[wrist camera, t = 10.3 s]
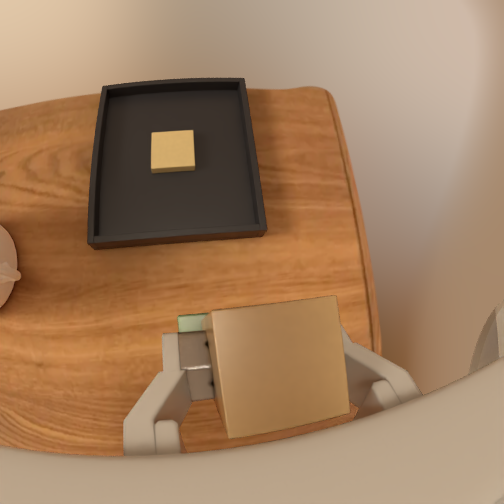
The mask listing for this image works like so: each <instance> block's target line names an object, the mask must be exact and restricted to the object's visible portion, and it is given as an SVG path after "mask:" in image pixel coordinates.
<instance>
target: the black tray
mask: <svg viewBox="0 0 504 504" xmlns="http://www.w3.org/2000/svg"><path fill="white" fill-rule="evenodd" d="M184 130H193V134H194V153H195V170H194V171H180V172H165V173H152V171H151V140H152V133H154V132H168V131H184ZM266 231H267V225H266V218H265V211H264V204H263V197H262V190H261V183H260V176H259V169H258V163H257V156H256V149H255V143H254V136H253V130H252V123H251V117H250V110H249V104H248V97H247V91H246V85H245V79H244V78H188V79H168V80H154V81H142V82H132V83H123V84H116V85H108V86H103V87H102V92H101V97H100V103H99V109H98V116H97V122H96V129H95V137H94V145H93V154H92V164H91V175H90V188H89V206H88V237H87V243H88V244H89V245H90V246H91V247H92V248H93V249H94V250H96V249H108V248H120V247H132V246H144V245H156V244H169V243H182V242H195V241H208V240H222V239H236V238H250V237H262V236H263V235H264V233H265V232H266Z"/></svg>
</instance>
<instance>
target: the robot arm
mask: <svg viewBox="0 0 504 504" xmlns="http://www.w3.org/2000/svg"><path fill="white" fill-rule="evenodd" d="M341 331H342V338H343V346H344V354H345V363H346V372H347V382H348V392H349V401H350V402H351V403H353V404H354V405H355V406H357V407H358V408H359V410H358V412H357V414H356V416H355V417H354V419H353V421H350V422H347V423H343V424H340V425H337V426H333V427H329V428H326V429H322V430H318V431H314V432H310V433H306V434H302V435H298V436H293V437H289V438H284V439H279V440H275V441H269V442H264V443H259V444H253V445H247V446H241V447H234V448H227V449H220V450H212V451H203V452H193V453H187V452H186V449H185V446H184V443H183V440H182V436H181V433H180V430H179V427H180V425H181V423H182V421H183V419H184V417H185V415H186V413H187V412H188V410H189V408H190V406H191V404H192V402H193V401H201V400H208V399H215V393H214V384H213V368H212V361H211V356H210V350H209V348H208V339H207V333H206V330H203V331H189V332H178V333H163V335H162V352H163V372H159V373H158V374H157V375H156V377H155V378H154V379H153V381H152V382H151V384H150V385H149V386H148V388H147V389H146V390H145V392H144V393H143V395H142V396H141V397H140V399H139V400H138V402H137V403H136V404H135V406H134V407H133V409H132V410H131V411H130V413H129V414H128V415H127V417H126V418H125V420H124V456H99V455H78V454H65V453H54V452H45V451H37V450H29V449H22V448H16V447H10V446H5V445H0V504H504V356H502V357H501V358H499V359H497V360H495V361H494V362H492V363H490V364H488V365H486V366H484V367H482V368H481V369H479V370H477V371H475V372H473V373H471V374H469V375H467V376H465V377H463V378H461V379H459V380H457V381H454V382H452V383H450V384H448V385H446V386H444V387H441V388H439V389H437V390H435V391H432V392H430V393H428V394H425V395H423V394H422V393H421V391H420V390H419V388H418V387H417V385H416V384H415V382H414V380H413V379H412V377H411V376H410V374H409V373H408V371H407V370H405V369H403V368H401V367H399V366H397V365H396V364H394V363H392V362H390V361H388V360H387V359H385V358H383V357H381V356H379V355H378V354H376V353H374V352H372V351H370V350H369V349H367V348H365V347H363V346H361V345H360V344H358V343H352V341H351V339H350V338H349V336H348V335H347V333H346V331H345V330H344V328H343V326H342V325H341Z"/></svg>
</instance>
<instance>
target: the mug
mask: <svg viewBox="0 0 504 504" xmlns="http://www.w3.org/2000/svg"><path fill="white" fill-rule="evenodd" d="M20 278H21V273H20V272H19V271H17V253H16V249H15V245H14V242H13V240H12V238H11V236H10V235H9V233H8V232H7V231H6V230H5V229H4V228H3V227H2V226H1V225H0V308H1V306H2V305H3V304H4V303H5V302H6V301H7V299H8V297H9V295H10V293H11V291H12V289H13V286H14V282H15V281H17V280H20Z"/></svg>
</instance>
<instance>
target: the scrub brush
mask: <svg viewBox="0 0 504 504" xmlns="http://www.w3.org/2000/svg"><path fill="white" fill-rule="evenodd" d="M177 320H178V329H179V332H189V331H203V330H206V333H207V339H208V348H209V350H210V356H211V361H212V368H213V384H214V393H215V399H214V401H215V404H216V407H217V409H218V412H219V415H220V417H221V420H222V423H223V425H224V428H225V431H226V433H227V436H228V438H229V439H235V438H241V437H248V436H254V435H259V434H265V433H270V432H275V431H280V430H285V429H290V428H294V427H299V426H303V425H307V424H311V423H315V422H319V421H323V420H327V419H331V418H334V417H338V416H342V415H345V414H348V413H350V402H349V392H348V382H347V372H346V363H345V354H344V346H343V338H342V331H341V323H340V316H339V309H338V302H337V296H336V295H331V296H324V297H317V298H309V299H302V300H294V301H287V302H279V303H271V304H262V305H254V306H245V307H236V308H227V309H217V310H212V311H211V312H210V313H200V314H189V315H179V316H178V317H177Z"/></svg>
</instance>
